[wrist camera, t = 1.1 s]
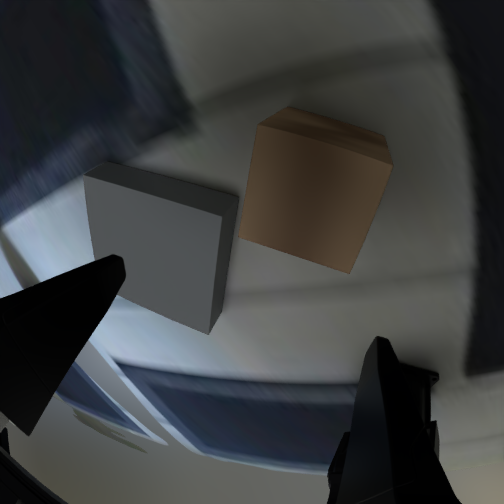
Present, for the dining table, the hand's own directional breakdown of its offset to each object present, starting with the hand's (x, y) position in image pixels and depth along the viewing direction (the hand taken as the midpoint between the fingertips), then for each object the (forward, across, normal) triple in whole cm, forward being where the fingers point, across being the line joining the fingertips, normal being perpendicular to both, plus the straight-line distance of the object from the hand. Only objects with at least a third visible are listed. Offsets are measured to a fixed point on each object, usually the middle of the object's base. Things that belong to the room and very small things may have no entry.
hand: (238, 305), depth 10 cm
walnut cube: (+12, -1, -1) cm, 12 cm away
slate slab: (+12, +11, +8) cm, 18 cm away
